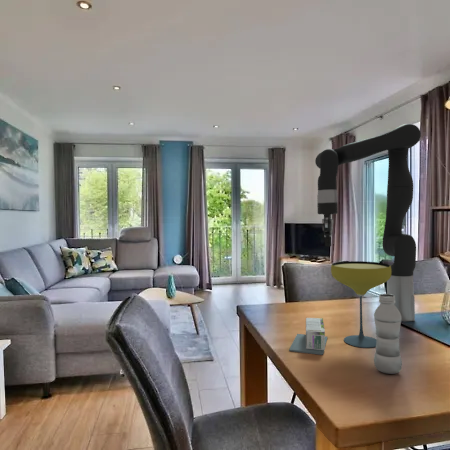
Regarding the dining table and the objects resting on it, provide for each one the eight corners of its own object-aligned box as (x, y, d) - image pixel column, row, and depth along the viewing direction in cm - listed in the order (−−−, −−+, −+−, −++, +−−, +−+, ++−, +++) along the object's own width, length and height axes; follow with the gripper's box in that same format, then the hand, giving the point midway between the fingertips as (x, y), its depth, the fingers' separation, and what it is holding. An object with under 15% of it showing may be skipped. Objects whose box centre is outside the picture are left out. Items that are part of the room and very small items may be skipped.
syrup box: (322, 334, 119) (326, 350, 105) (305, 333, 120) (306, 349, 106) (322, 318, 119) (325, 331, 105) (305, 317, 120) (305, 330, 106)
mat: (327, 338, 117) (327, 336, 117) (323, 355, 103) (322, 353, 103) (297, 335, 120) (297, 333, 120) (289, 351, 106) (289, 349, 106)
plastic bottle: (369, 367, 94) (368, 293, 94) (393, 365, 95) (392, 292, 94) (382, 378, 88) (380, 298, 87) (407, 376, 88) (406, 297, 88)
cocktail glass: (370, 330, 123) (369, 260, 123) (405, 349, 105) (404, 267, 105) (322, 334, 120) (321, 262, 120) (350, 355, 102) (348, 270, 102)
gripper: (336, 201, 128) (337, 248, 129) (338, 202, 141) (339, 245, 141) (315, 201, 131) (316, 247, 131) (319, 202, 143) (320, 244, 144)
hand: (328, 246), depth 136 cm, fingers closed
